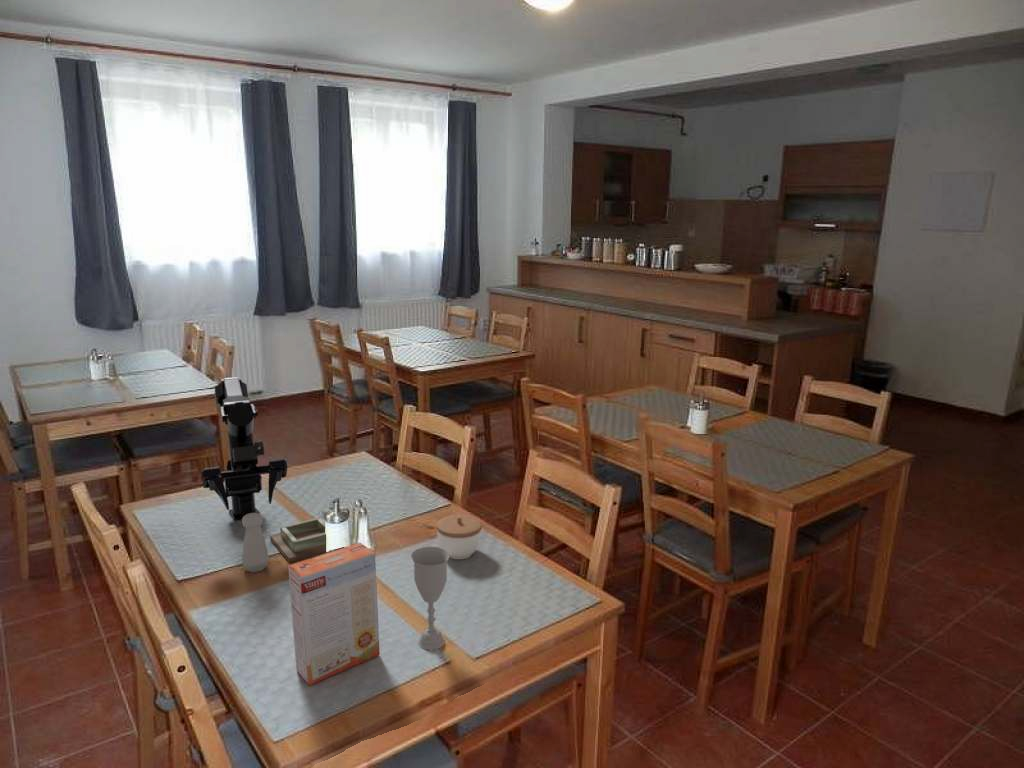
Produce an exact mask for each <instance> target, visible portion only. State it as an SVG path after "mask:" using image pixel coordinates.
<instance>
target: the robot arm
mask: <svg viewBox="0 0 1024 768" xmlns="http://www.w3.org/2000/svg"><path fill="white" fill-rule="evenodd" d="M247 386H248V385H247V384H246V383H245V382H243V381H242V378H241V377H238V376H233V377H231V376H230V377H224V378H222V379H221V380H220V383H218V384H217V385H215V386H214V398H215V405H218V409H219V410H218V411H219V413H220V416H221V417H220V418H221V422H222V423H224V424H225V425H226V428H227V430H226V433H227V438H228V439H227V440H228V449H229V457H230V459H228V461H227V463H226V464H227V465H226V467H225V468H226V470H222V471H221V468H220V467H221V466H220V465H219V466H217V465H216V466H211V467H210V466H209V467H204V468H202V470H201V477H202V488H204V489H209V491H210V492H211V491H214V492H215V493H216V495H218V497H219V498H220V500H221V502H222V503H223V505H224V507H225V509H226V510H227V511H228V514H229V515H231V517H232V518H233V520H234V521H237V520H242V518H243V517H244V516H245V515H246V514H249V513H259V514H261V512H260V511H259V510H258V508H257V507H256V499H255V494H257V493H261V491H262V490H263V488H262V479H263V477H262V475H267V474H268V491H267V492H268V494H267V495H268V503H269V505H270V504H272V502H273V501H272V500H273V496H274V495H273V494H274V491H275V489H276V485H277V482H278V483H279V482H281V481H282V479H284V478H286V477H287V473H288V463H287V459H285V458H274V459H268V465H261V466H260V465H259V466H258V464H259V460H258V457H260V456H265V447H264V441H263V440H262V441H255V440H254V432H253V431H254V420H256V418H257V417H258V416H259V414H258V412H259V411H258V409H257V408H256V406H255V405H254V403H251V400H250V397H249V394H248V387H247ZM230 497H231V509H230V506H229V500H228V498H230Z"/></svg>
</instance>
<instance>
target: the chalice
mask: <svg viewBox="0 0 1024 768" xmlns="http://www.w3.org/2000/svg"><path fill="white" fill-rule="evenodd" d="M410 556H411V560H412V561H413V570H414V571H413V572H414V573H413V574H414V576H413V577H414V578H413V580H414V582H415V585H416V588H417V590H418V592H419V594H420V596H421V598H422V600H423V601H424V602H425V603H427V604H428V607H427V609H426V612H427V614H428V616H427V618H426V621H427V622H428V626H427V627H426V628H424V629H423V630H422V632H421V633H420V636H419V638H418V641H417V643H418V644H417V645H418V646H419V647H420V648H421V649H422V650H426V649H428V651H431V650H432V649H434V650H438V649H439V648H441V647H443V646H444V645H445V642H446V640H445V638H444V636H443V634H442V632H441V630H440V629H439V628H438V627H436V626H434V624H435V621H436V620H437V618H436V617H435V616H434V614H435V612H436V608H435V607H434V604H435V603H436V602H438V601H439V598H440V597H441V595H442V593H443V591H444V589H445V587H446V583H447V580H448V579H447V578H448V572H447V563H448V560H450V557H449V553H448V552H447V551H446V550H444V549H441V547H436V546H424V547H420V548H417V549H416V550H413V552H412V553H411V555H410ZM432 651H433V650H432Z"/></svg>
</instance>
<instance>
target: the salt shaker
mask: <svg viewBox="0 0 1024 768" xmlns="http://www.w3.org/2000/svg"><path fill="white" fill-rule="evenodd" d="M241 522H242V526H243V527H244V528H245V532H244V538H243V539H244V540H243V548H242V553H241V562H242V565H243V567H244V568H245V570H246V571H247V572H251V573H257V572H261V571H263V570H264V569H265V568H266V567H267V564H268V562H269V558H270V556H269V552H268V549H267V545H266V541H265V538H264V534H263V529H262V524H263V522H264V521H263V515H262V514H261V513H260V514H259V513H249V514H246V515H245V516H244V517H243V518H242V519H241Z"/></svg>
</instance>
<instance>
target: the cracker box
mask: <svg viewBox="0 0 1024 768" xmlns="http://www.w3.org/2000/svg"><path fill="white" fill-rule="evenodd" d="M376 565H377V564H376V552H374V551H373V550H371V549H370V548H369V547H368V546H366V545H365V544H364V543H361V542H358V543H355V544H351V545H349V546H348V545H347V547H345V548H341V549H338V550H334V551H330V552H327V553H323V554H320V555H316V556H313V557H310V558H306V559H303V560H302V561H301V560H300V561H297V562H294V563H292V564H289V565H288V566H287V568H288V570H287V571H288V580H289V595H290V607H291V617H292V618H291V619H292V630H293V631H292V632H293V642H294V654H295V655H294V656H295V666H296V667H295V668H296V671H297V672H298V674H299V675H300V676H301V678H302V679H303V680H304V681H305V682H306V684H307V685H308V686H312V685H314V684H316V683H319V682H321V681H324V680H325V679H328V678H330V677H332V676H335V675H336V674H337V675H338V674H339V673H341V672H343V671H345V670H348V669H350V668H352V667H355V666H357V665H359V664H362V663H363V662H366V661H369V660H371V659H374V658H376V657H378V656H379V655H380V650H381V649H380V633H379V610H378V609H379V607H378V606H379V605H378V589H377V588H378V587H377V586H378V585H377V568H376V567H377V566H376Z"/></svg>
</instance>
